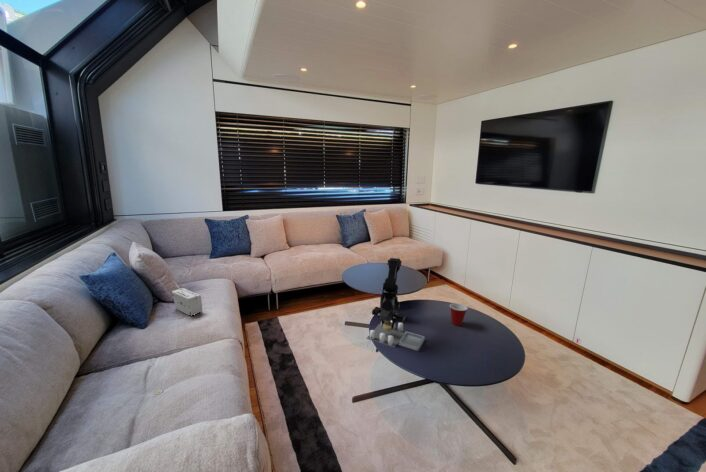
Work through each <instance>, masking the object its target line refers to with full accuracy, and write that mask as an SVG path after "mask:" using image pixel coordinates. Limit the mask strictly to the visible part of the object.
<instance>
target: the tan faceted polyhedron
mask: <svg viewBox="0 0 706 472" xmlns="http://www.w3.org/2000/svg"><path fill="white" fill-rule="evenodd" d="M390 321H391V320H388V321H385V322H384V323H383V329H384V330H385V331H392V322H390Z"/></svg>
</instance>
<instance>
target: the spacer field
mask: <svg viewBox="0 0 706 472" xmlns="http://www.w3.org/2000/svg"><path fill="white" fill-rule="evenodd" d="M392 320H393V319H390V320H389V321H390V322H392ZM406 331H407V330H406V329H404V323H403V322H397V327H396V324H395V325H394V327H393V329H392V331H385V330H384V329H383V325H382V322H381V321H380V323H379V324H377V326H376V327H375V328H374V329H371V330H369V335H368V336H367V337H366V338H365V339H366V340H368V341H372V342H376V343H379V344H382V345H385V346H389V347H391V348H395V347H396V346H397V345H398V343H399V341H400V339H401V338H402V336H403V335H404V334H405V332H406ZM371 337H372V338H371ZM372 339H373V340H372Z"/></svg>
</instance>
